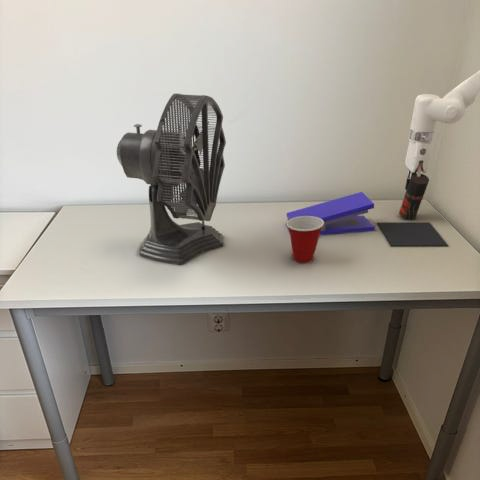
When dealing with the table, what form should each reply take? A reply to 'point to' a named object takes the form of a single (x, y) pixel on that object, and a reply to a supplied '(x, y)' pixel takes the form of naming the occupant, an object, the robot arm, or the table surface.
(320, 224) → the plastic cup
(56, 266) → the table surface
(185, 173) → the desk fan
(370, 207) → the stapler
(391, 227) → the mat
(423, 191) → the deodorant
